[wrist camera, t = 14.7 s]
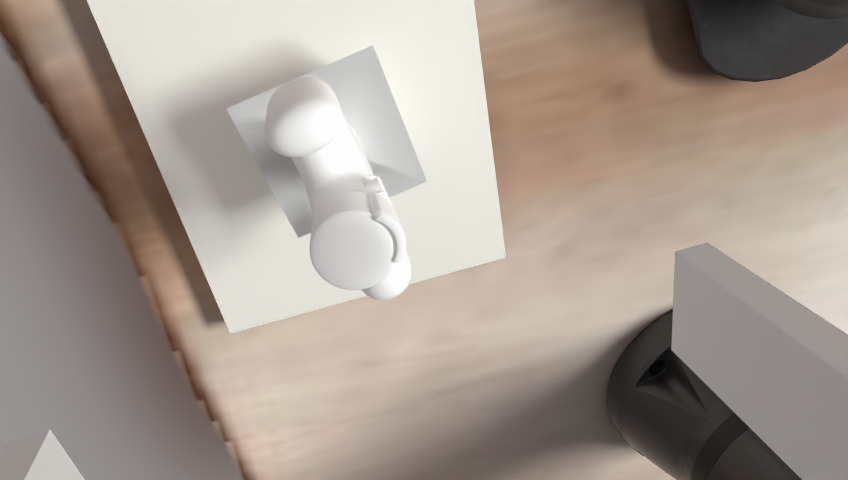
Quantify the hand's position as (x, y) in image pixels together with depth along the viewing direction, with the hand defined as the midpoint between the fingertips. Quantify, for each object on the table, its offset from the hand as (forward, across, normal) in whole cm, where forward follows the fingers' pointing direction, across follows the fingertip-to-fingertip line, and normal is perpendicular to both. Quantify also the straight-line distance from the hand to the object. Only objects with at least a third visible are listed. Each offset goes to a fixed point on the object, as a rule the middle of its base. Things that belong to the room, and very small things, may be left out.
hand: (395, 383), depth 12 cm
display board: (+22, 0, 0) cm, 23 cm away
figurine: (+21, 0, 0) cm, 21 cm away
